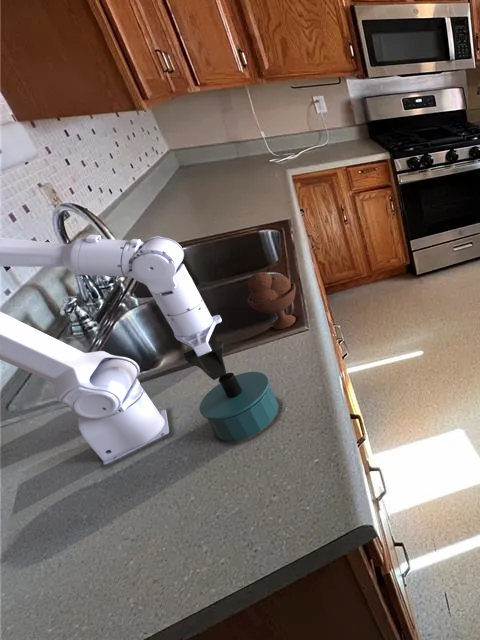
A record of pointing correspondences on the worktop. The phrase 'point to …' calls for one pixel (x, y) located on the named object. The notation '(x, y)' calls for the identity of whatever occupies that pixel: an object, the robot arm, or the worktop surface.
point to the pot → (247, 419)
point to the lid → (233, 395)
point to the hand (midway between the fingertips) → (216, 365)
